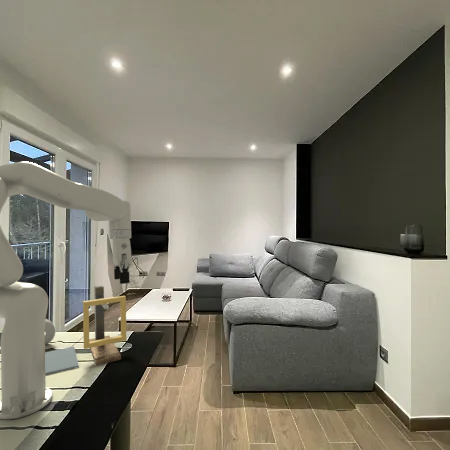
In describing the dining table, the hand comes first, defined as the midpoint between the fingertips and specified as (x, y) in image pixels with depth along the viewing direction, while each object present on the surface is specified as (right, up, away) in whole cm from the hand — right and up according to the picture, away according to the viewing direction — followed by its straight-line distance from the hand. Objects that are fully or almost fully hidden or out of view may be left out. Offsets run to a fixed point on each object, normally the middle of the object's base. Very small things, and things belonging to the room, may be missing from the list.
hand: (121, 281), depth 108 cm
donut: (-34, -27, +9) cm, 44 cm away
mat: (-20, -26, -6) cm, 34 cm away
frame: (-5, -22, -3) cm, 22 cm away
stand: (-7, -26, +1) cm, 27 cm away
